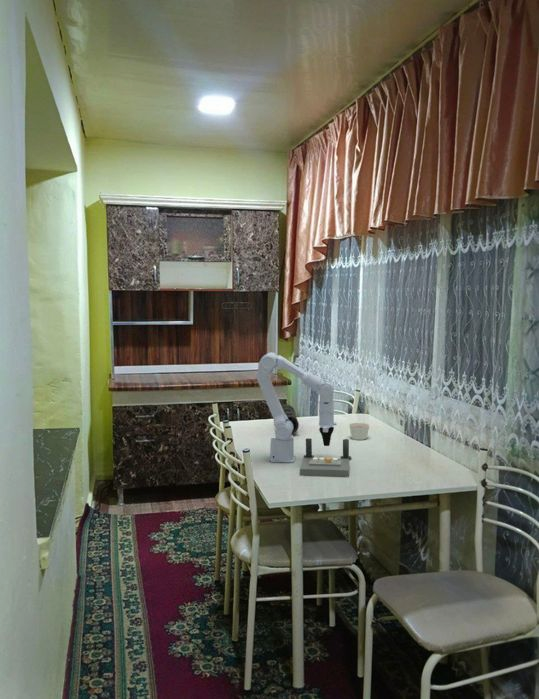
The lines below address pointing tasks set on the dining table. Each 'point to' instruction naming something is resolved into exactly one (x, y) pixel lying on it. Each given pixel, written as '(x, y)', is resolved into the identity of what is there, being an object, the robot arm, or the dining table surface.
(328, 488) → the dining table surface
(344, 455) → the dark flanged peg
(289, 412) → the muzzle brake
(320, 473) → the breaker panel
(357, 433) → the candle
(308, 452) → the gray flanged cylinder
